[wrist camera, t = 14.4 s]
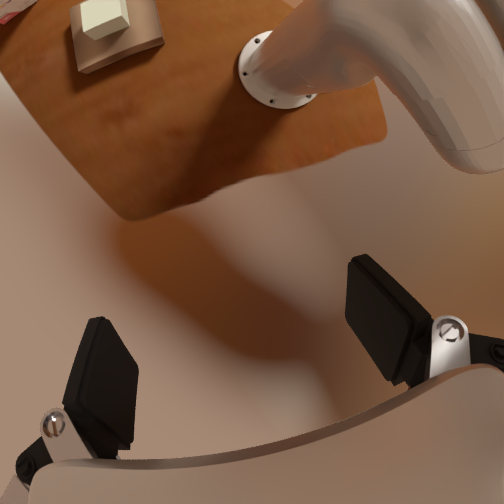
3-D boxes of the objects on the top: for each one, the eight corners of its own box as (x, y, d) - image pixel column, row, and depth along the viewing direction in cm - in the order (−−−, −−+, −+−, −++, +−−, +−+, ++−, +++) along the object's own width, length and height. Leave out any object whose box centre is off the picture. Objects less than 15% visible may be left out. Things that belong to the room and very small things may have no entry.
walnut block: (152, -14, 22) (148, -25, 18) (165, 44, 28) (162, 36, 24) (79, 15, 21) (69, 8, 18) (88, 74, 27) (78, 71, 23)
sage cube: (125, 0, 20) (117, -13, 16) (129, 26, 22) (121, 15, 18) (91, 14, 19) (80, 4, 16) (95, 40, 22) (83, 32, 18)
